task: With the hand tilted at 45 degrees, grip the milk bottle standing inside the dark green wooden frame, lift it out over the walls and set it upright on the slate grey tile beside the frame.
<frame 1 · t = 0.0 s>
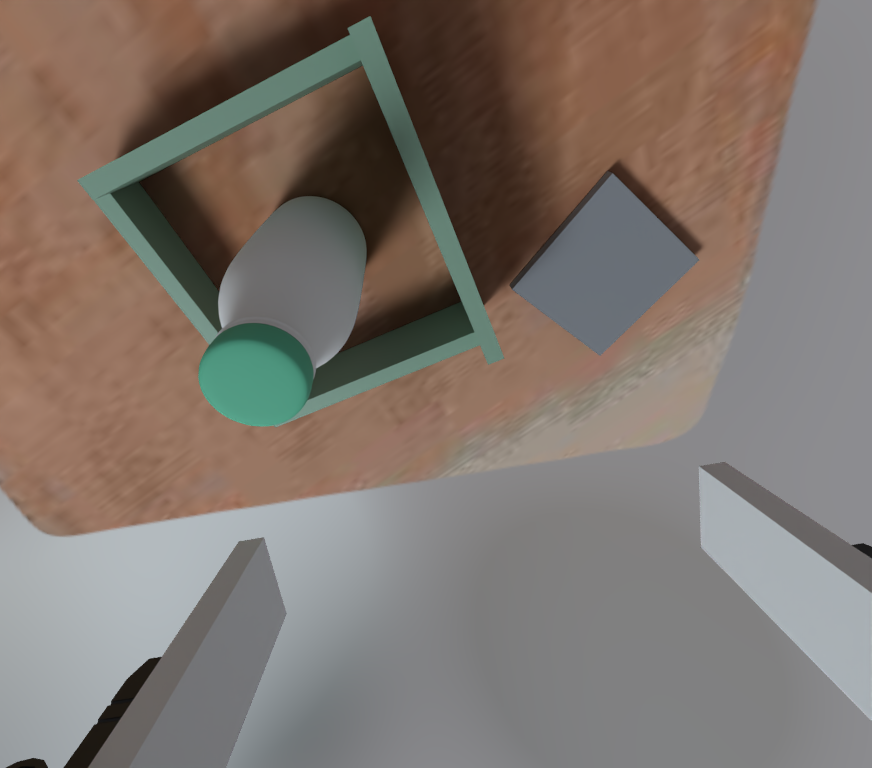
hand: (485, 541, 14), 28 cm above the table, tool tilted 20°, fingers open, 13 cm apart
slate tile: (601, 270, 39), on the table
green wooden frame: (317, 246, 36), on the table
milk bottle: (317, 245, 36), resting in green wooden frame
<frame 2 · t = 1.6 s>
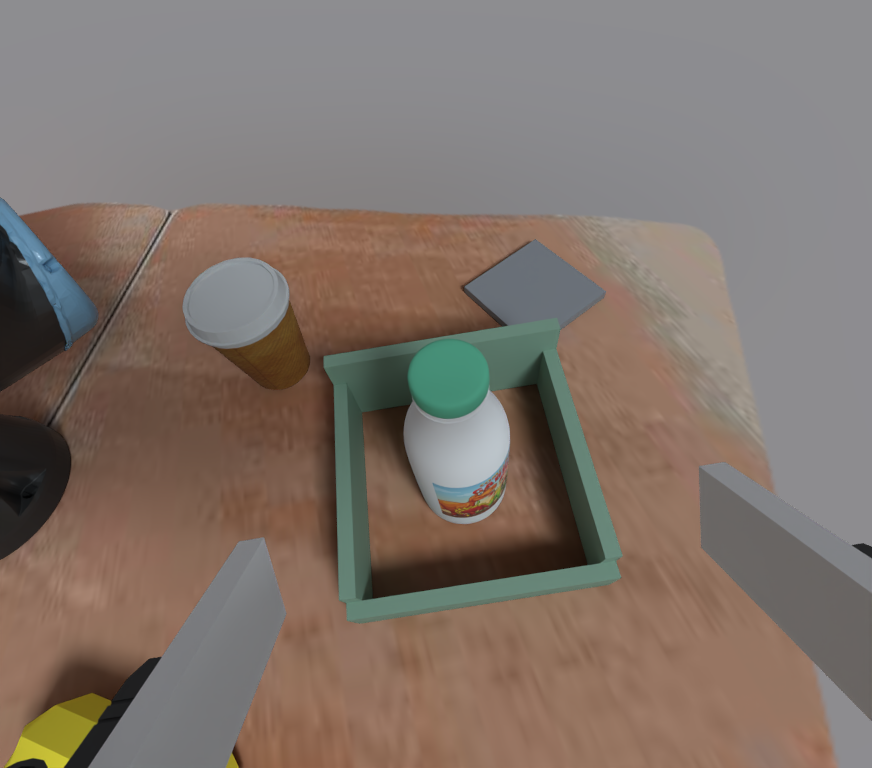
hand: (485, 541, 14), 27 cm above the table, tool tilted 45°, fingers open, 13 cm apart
slate tile: (532, 294, 53), on the table
green wooden frame: (463, 483, 43), on the table
disposable coffee cup: (282, 366, 52), on the table
milk bottle: (463, 483, 43), resting in green wooden frame
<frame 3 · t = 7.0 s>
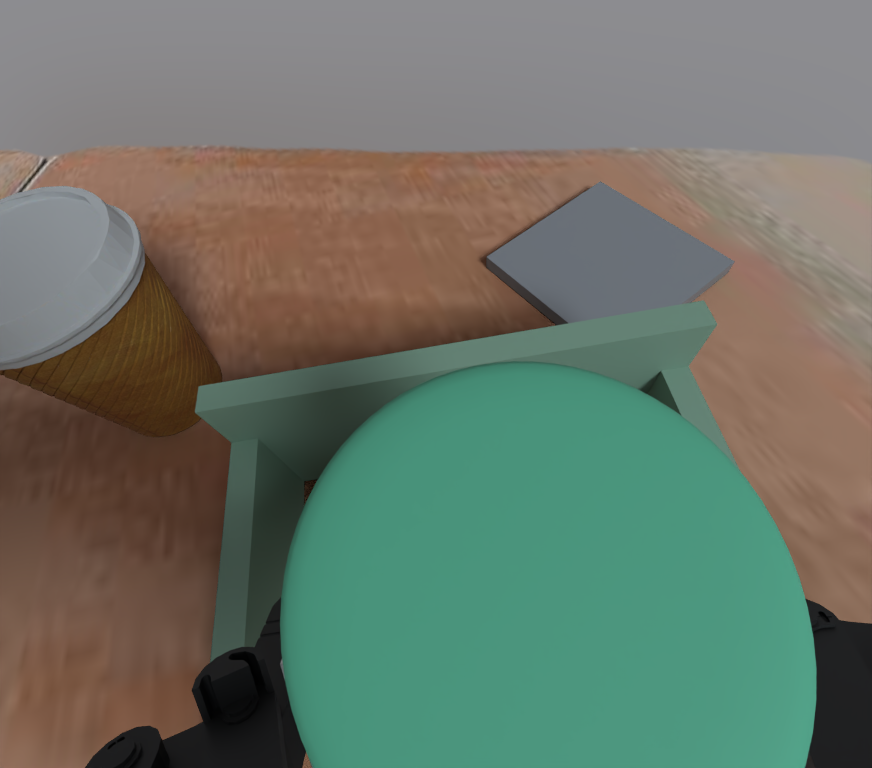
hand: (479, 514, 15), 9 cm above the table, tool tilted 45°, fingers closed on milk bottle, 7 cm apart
slate tile: (602, 270, 31), on the table
green wooden frame: (497, 639, 21), on the table
disposable coffee cup: (175, 393, 30), on the table
milk bottle: (496, 638, 21), resting in green wooden frame, touching gripper
when the fingers open (11 cm above the table, at t = 15.9 s): milk bottle drops 1 cm, resting on slate tile.
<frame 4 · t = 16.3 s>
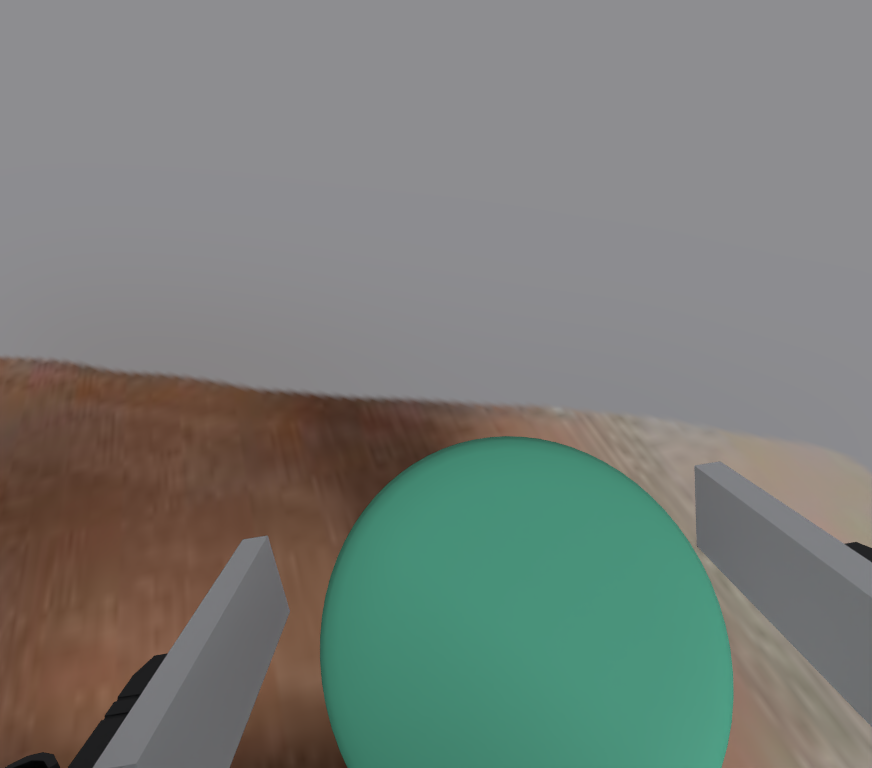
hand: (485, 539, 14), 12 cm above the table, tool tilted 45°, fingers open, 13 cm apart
milk bottle: (495, 641, 23), point 1 cm above the table, touching slate tile
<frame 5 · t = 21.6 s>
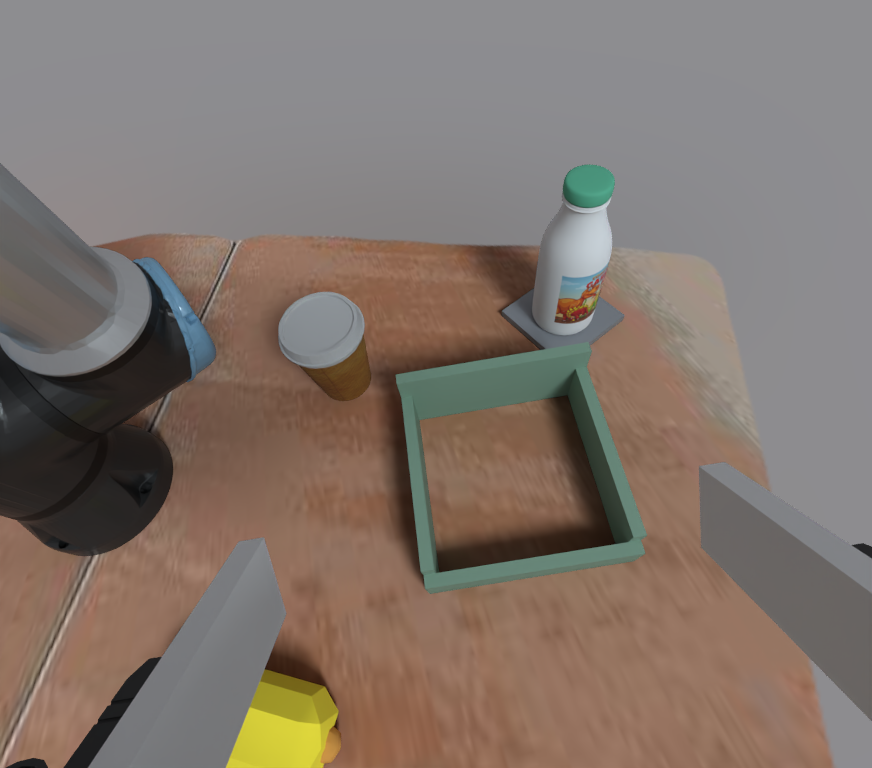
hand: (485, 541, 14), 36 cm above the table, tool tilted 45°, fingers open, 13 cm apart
slate tile: (561, 317, 61), on the table
green wooden frame: (509, 479, 51), on the table
disposable coffee cup: (347, 380, 60), on the table
milk bottle: (561, 314, 61), point 1 cm above the table, touching slate tile
yellow faceted block: (256, 715, 43), on the table
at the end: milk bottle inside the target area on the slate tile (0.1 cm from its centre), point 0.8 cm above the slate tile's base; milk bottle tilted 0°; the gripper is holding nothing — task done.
